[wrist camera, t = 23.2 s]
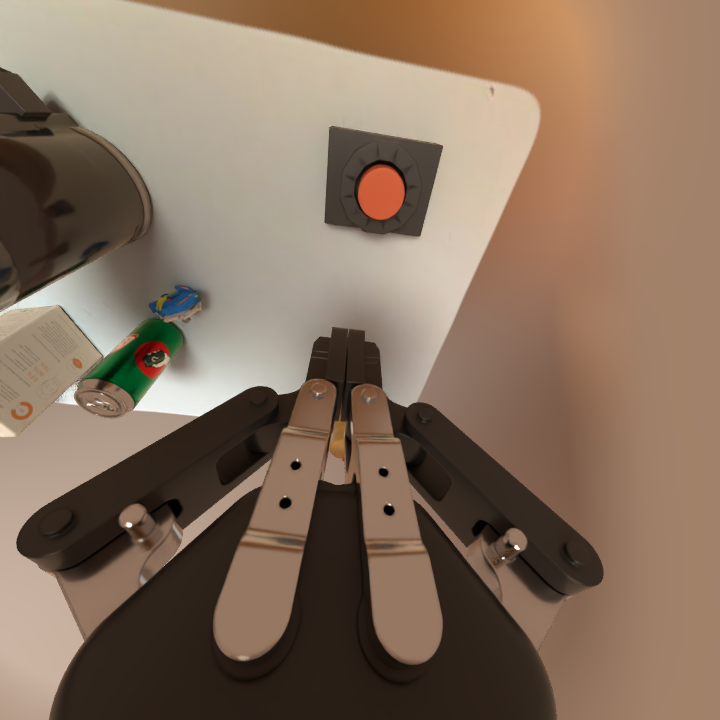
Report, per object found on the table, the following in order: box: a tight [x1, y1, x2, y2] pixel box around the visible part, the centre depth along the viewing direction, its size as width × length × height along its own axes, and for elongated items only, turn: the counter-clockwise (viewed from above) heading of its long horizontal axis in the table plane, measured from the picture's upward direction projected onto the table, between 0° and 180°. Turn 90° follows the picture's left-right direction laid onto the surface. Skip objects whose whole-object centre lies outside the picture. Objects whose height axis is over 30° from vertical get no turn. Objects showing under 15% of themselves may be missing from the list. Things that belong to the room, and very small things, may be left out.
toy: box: [149, 286, 202, 323], centre depth 32 cm, size 5×4×5 cm
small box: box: [0, 306, 102, 437], centre depth 33 cm, size 8×6×13 cm
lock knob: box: [329, 402, 346, 461], centre depth 39 cm, size 4×4×8 cm
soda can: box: [74, 319, 183, 418], centre depth 33 cm, size 5×5×12 cm
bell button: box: [358, 164, 405, 220], centre depth 23 cm, size 4×4×2 cm
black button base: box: [325, 126, 443, 236], centre depth 25 cm, size 9×7×4 cm
